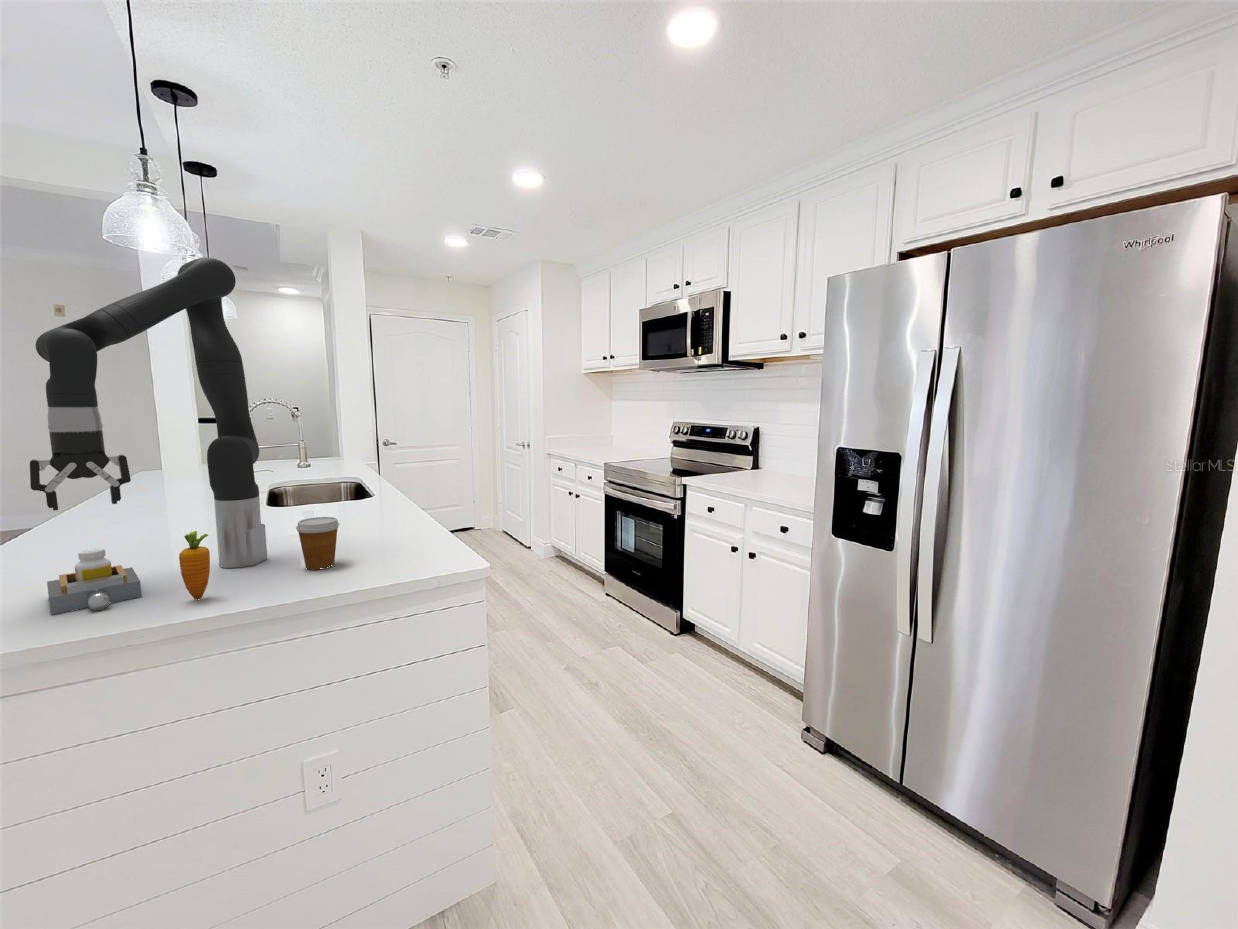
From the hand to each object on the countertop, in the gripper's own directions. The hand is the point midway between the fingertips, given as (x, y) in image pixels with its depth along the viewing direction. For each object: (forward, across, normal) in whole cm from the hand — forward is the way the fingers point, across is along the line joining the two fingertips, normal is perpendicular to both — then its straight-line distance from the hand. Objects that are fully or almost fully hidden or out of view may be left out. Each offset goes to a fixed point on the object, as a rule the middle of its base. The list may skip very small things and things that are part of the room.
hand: (85, 506), depth 106 cm
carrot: (+20, -14, +18) cm, 30 cm away
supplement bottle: (+20, 0, 0) cm, 20 cm away
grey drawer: (+19, 0, +3) cm, 20 cm away
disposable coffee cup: (+20, -39, +13) cm, 46 cm away
